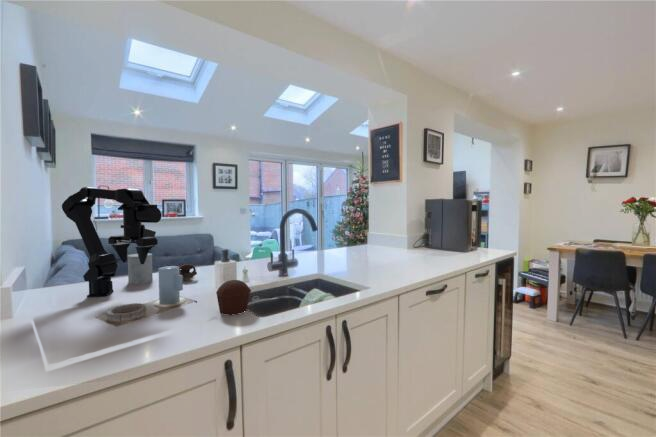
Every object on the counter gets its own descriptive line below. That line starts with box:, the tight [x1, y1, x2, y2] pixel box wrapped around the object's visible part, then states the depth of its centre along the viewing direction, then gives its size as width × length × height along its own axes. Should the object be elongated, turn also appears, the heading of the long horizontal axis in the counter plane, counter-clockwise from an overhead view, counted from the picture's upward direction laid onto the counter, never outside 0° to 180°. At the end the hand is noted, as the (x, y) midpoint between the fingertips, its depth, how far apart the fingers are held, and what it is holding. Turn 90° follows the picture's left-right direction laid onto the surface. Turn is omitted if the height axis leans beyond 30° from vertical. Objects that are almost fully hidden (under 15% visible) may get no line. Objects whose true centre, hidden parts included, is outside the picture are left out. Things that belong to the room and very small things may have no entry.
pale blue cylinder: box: [158, 265, 184, 305], centre depth 106 cm, size 9×6×12 cm
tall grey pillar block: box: [127, 252, 154, 285], centre depth 137 cm, size 10×10×12 cm
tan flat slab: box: [94, 295, 198, 327], centre depth 100 cm, size 26×13×3 cm, turn 150°
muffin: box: [215, 279, 252, 316], centre depth 102 cm, size 12×11×10 cm
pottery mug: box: [178, 263, 198, 281], centre depth 140 cm, size 12×10×8 cm
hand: (133, 263), depth 114 cm, fingers open, 9 cm apart
